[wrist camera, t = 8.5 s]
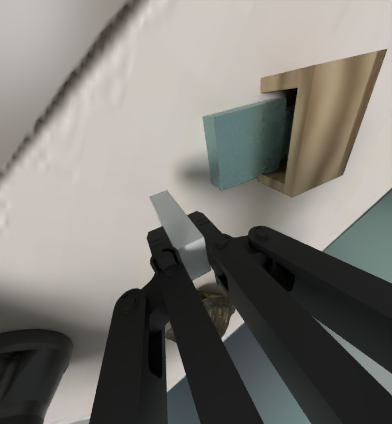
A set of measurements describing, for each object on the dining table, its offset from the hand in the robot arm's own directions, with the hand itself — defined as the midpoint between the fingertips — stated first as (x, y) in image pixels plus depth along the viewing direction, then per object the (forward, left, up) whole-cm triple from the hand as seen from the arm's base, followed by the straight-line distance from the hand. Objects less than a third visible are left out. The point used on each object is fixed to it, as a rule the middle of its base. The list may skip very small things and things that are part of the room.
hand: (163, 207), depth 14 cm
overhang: (+22, 0, -9) cm, 24 cm away
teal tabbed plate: (+16, 0, -9) cm, 18 cm away
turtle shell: (0, -37, -9) cm, 38 cm away
